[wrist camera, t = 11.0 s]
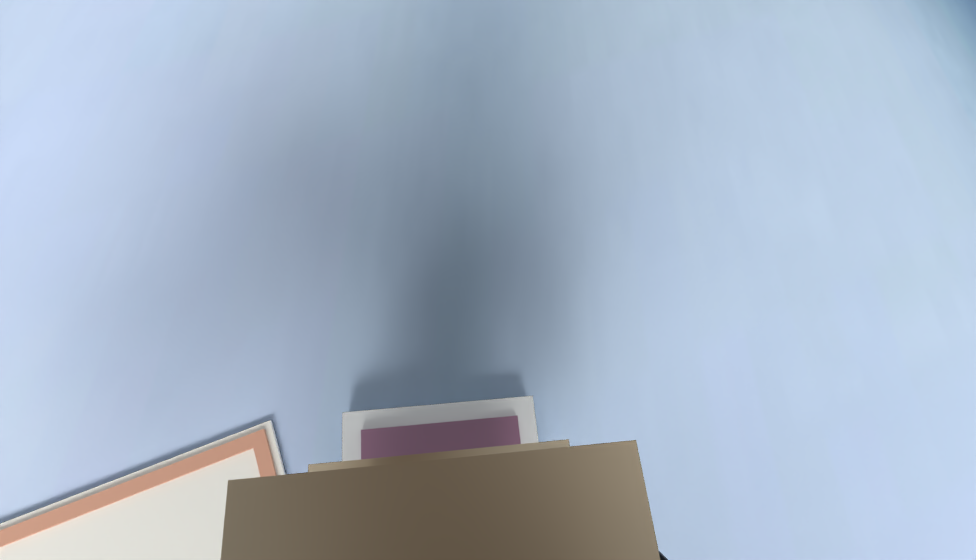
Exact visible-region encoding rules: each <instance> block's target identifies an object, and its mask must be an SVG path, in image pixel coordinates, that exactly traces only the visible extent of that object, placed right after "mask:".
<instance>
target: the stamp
mask: <svg viewBox="0 0 976 560" xmlns="http://www.w3.org/2000/svg"><path fill="white" fill-rule="evenodd" d="M221 560H660V556H659V551H658V546H657V541H656V536H655V531H654V526H653V521H652V516H651V512H650V507H649V502H648V497H647V492H646V487H645V482H644V477H643V472H642V467H641V463H640V458H639V453H638V448H637V443H636V440H632V441H621V442H611V443H601V444H591V445H581V446H571V447H570V445H569V439H567V440H557V441H547V442H536V443H526V444H516V445H505V446H495V447H485V448H474V449H464V450H454V451H443V452H433V453H423V454H412V455H402V456H392V457H381V458H371V459H361V460H350V461H340V462H330V463H319V464H309V465H308V472H307V473H296V474H286V475H276V476H266V477H256V478H246V479H235V480H228V485H227V496H226V507H225V517H224V528H223V539H222V549H221Z"/></svg>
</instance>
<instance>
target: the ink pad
mask: <svg viewBox="0 0 976 560" xmlns="http://www.w3.org/2000/svg"><path fill="white" fill-rule="evenodd" d="M536 442H538V434H537V426H536V418H535V410H534V402H533V396H524V397H512V398H501V399H490V400H478V401H467V402H455V403H444V404H432V405H421V406H410V407H398V408H387V409H375V410H364V411H353V412H342V461H350V460H361V459H371V458H381V457H392V456H402V455H412V454H423V453H433V452H443V451H454V450H464V449H474V448H485V447H495V446H505V445H516V444H526V443H536Z"/></svg>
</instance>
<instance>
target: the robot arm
mask: <svg viewBox="0 0 976 560" xmlns="http://www.w3.org/2000/svg"><path fill="white" fill-rule="evenodd" d="M659 556H660V560H668V559H667V558H666V557H665V556H664V555H663V554H662V553H661V552H659Z"/></svg>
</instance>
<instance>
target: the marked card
mask: <svg viewBox="0 0 976 560" xmlns="http://www.w3.org/2000/svg"><path fill="white" fill-rule="evenodd" d="M276 475H286V473H285V469H284V465H283V461H282V458H281V454H280V450H279V446H278V442H277V438H276V435H275V431H274V427H273V423H272V421H271V420H269V421H267V422H264V423H261V424H259V425H256V426H254V427H251V428H248V429H246V430H243V431H241V432H238V433H235V434H233V435H230V436H228V437H225V438H222V439H220V440H217V441H215V442H212V443H209V444H207V445H204V446H202V447H199V448H196V449H194V450H191V451H188V452H186V453H183V454H181V455H178V456H175V457H173V458H170V459H168V460H165V461H162V462H160V463H157V464H155V465H152V466H149V467H147V468H144V469H142V470H139V471H136V472H134V473H131V474H129V475H126V476H123V477H121V478H118V479H115V480H113V481H110V482H108V483H105V484H102V485H100V486H97V487H95V488H92V489H89V490H87V491H84V492H82V493H79V494H76V495H74V496H71V497H69V498H66V499H63V500H61V501H58V502H56V503H53V504H50V505H48V506H45V507H43V508H40V509H37V510H35V511H32V512H29V513H27V514H24V515H22V516H19V517H16V518H14V519H11V520H9V521H6V522H3V523H1V524H0V560H221V549H222V539H223V528H224V517H225V507H226V496H227V485H228V480H235V479H246V478H256V477H266V476H276Z"/></svg>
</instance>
